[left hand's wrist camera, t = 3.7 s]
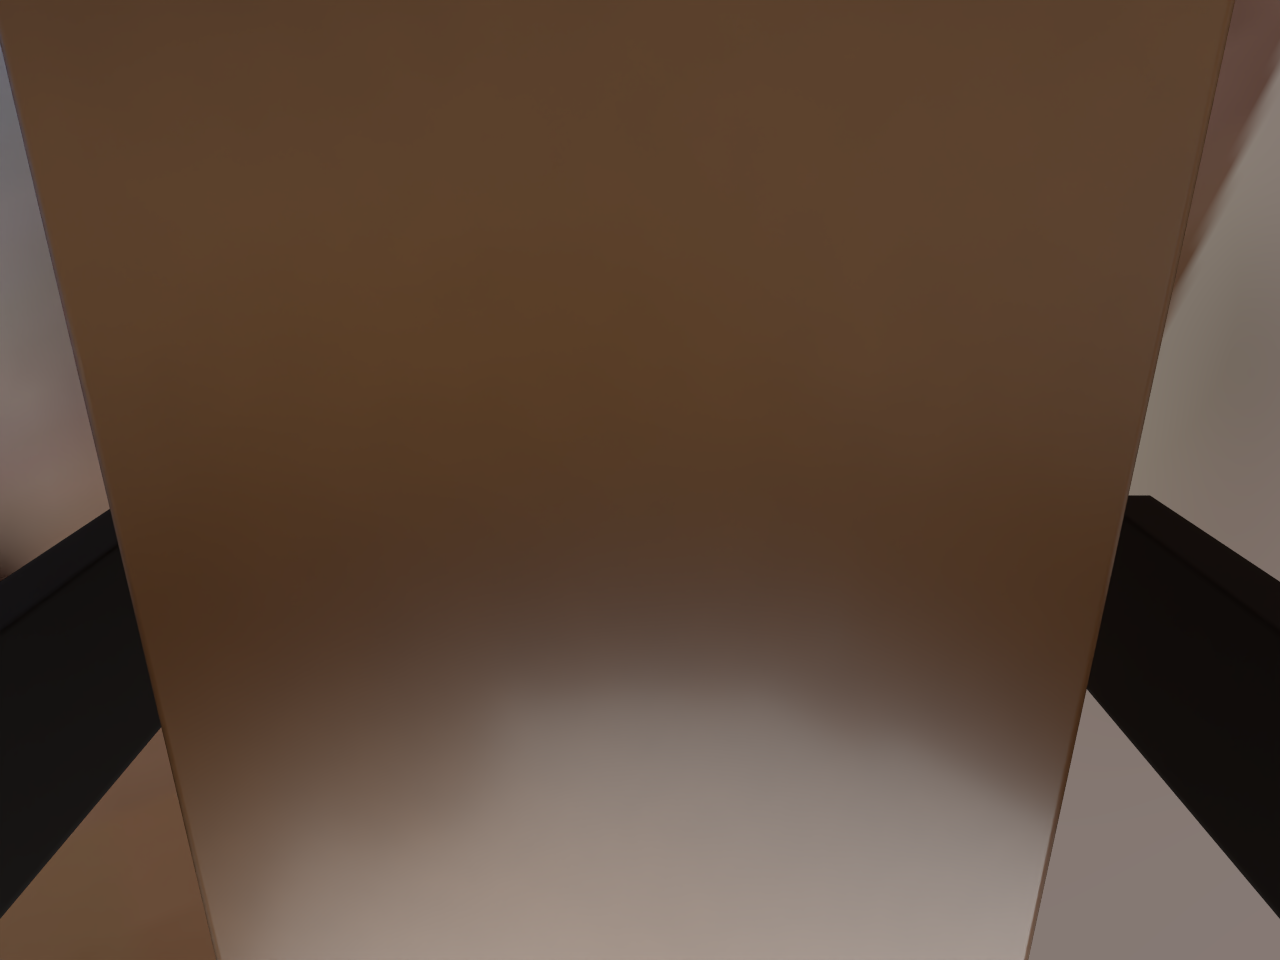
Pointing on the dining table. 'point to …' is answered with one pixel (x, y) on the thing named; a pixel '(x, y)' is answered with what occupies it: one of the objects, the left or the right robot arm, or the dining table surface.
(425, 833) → the box
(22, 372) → the dining table surface
